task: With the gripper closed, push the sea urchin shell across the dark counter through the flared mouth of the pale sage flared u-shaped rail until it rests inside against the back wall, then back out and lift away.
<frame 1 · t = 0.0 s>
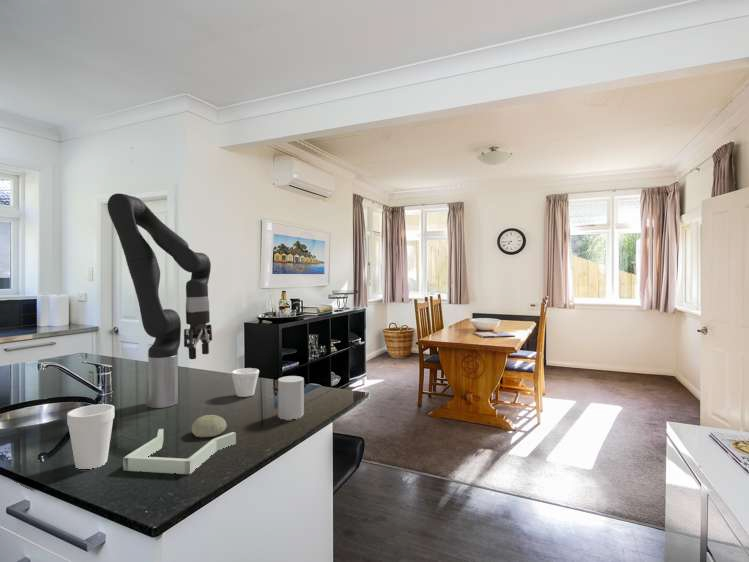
hand: (199, 356, 144), 17 cm above the worktop, tool pointing down, fingers open, 8 cm apart
flared u-shaped rail: (174, 458, 103), on the worktop
cup: (291, 416, 135), on the worktop
cup 2: (245, 395, 157), on the worktop
foam cup: (91, 464, 100), on the worktop
sea urchin shell: (208, 434, 120), on the worktop
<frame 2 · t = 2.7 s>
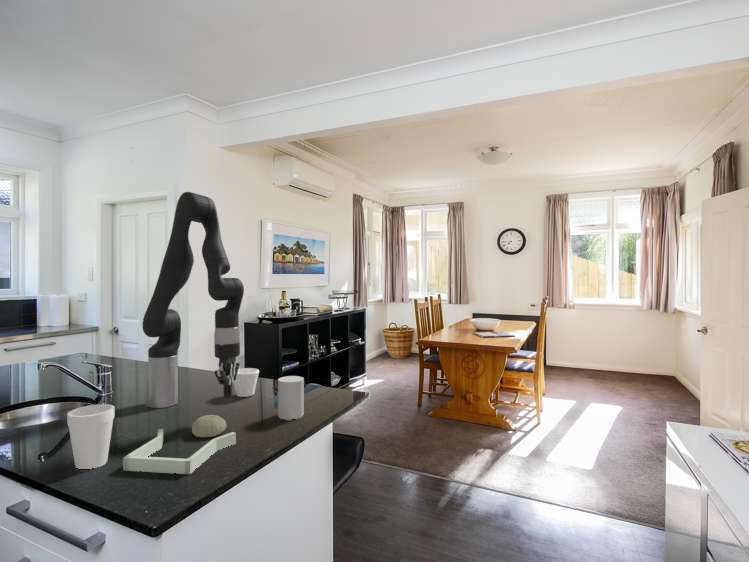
hand: (228, 396, 131), 7 cm above the worktop, tool pointing down, fingers closed
nothing on the worktop moved.
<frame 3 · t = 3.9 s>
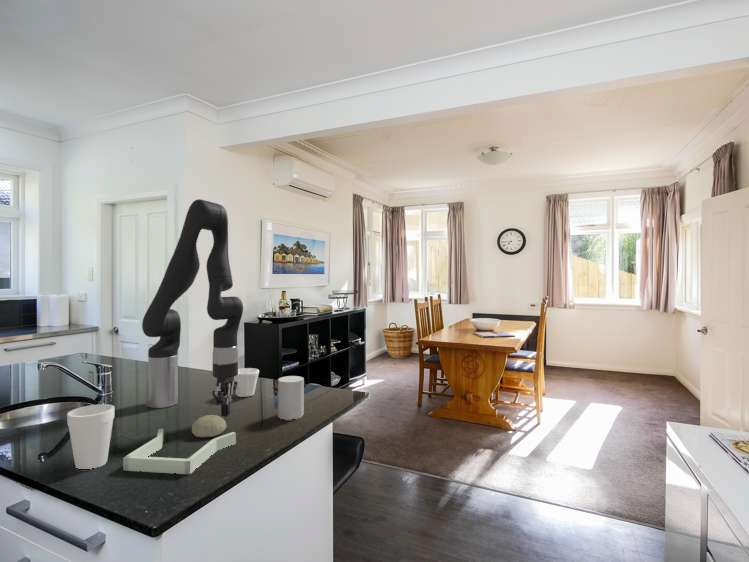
hand: (225, 415, 130), 2 cm above the worktop, tool pointing down, fingers closed
nothing on the worktop moved.
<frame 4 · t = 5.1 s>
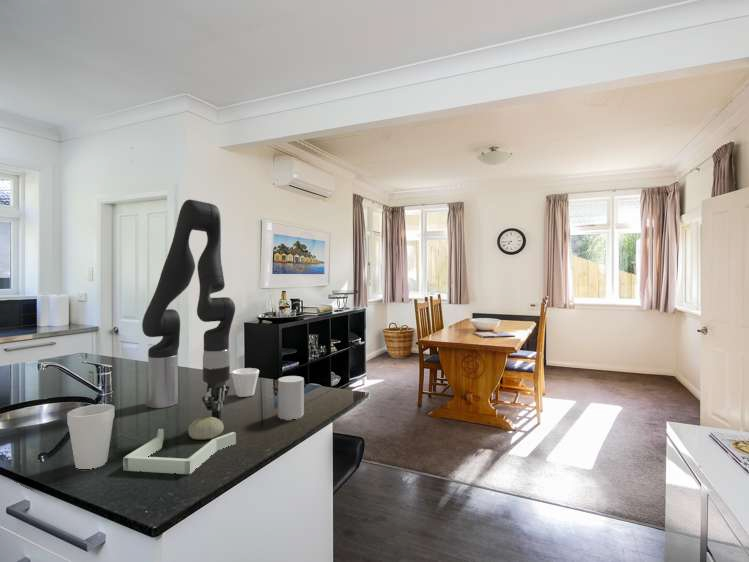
hand: (216, 422, 124), 2 cm above the worktop, tool pointing down, fingers closed
sea urchin shell: (205, 436, 118), on the worktop
everything else where it was.
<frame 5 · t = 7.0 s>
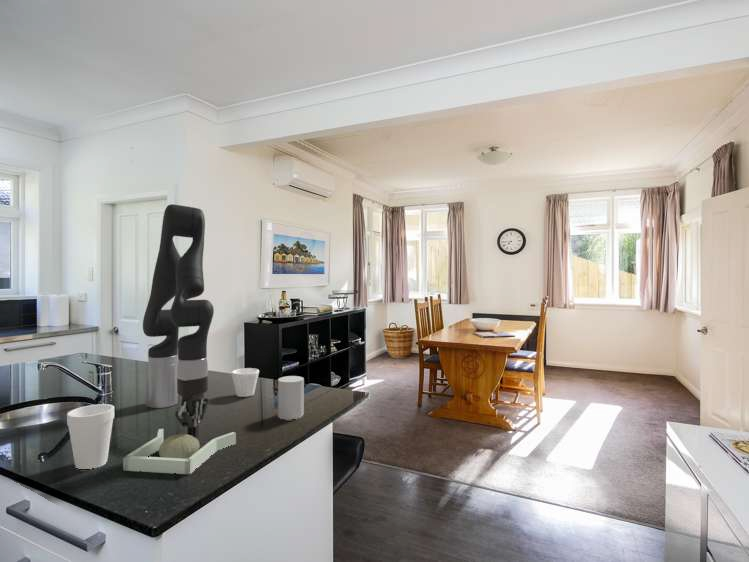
hand: (193, 439, 111), 2 cm above the worktop, tool pointing down, fingers closed
sea urchin shell: (179, 456, 105), on the worktop, touching gripper
everything else where it was.
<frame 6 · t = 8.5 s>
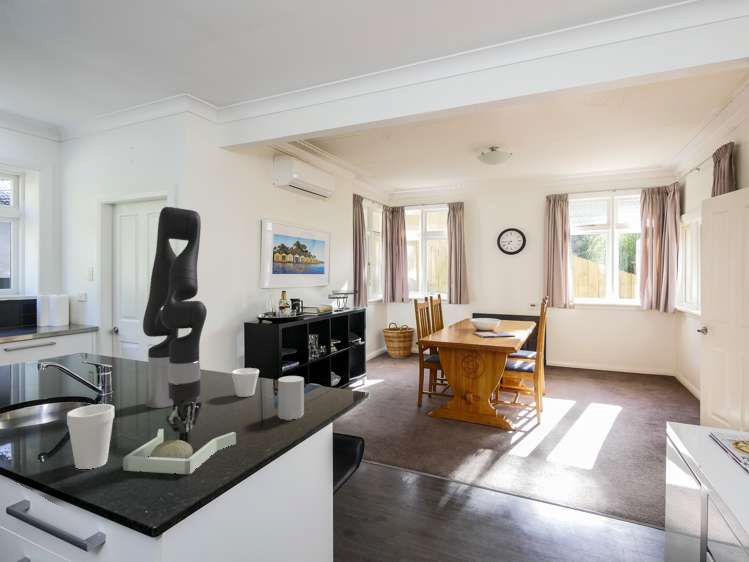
hand: (185, 445, 107), 2 cm above the worktop, tool pointing down, fingers closed
sea urchin shell: (171, 463, 101), on the worktop, touching flared u-shaped rail
everything else where it was.
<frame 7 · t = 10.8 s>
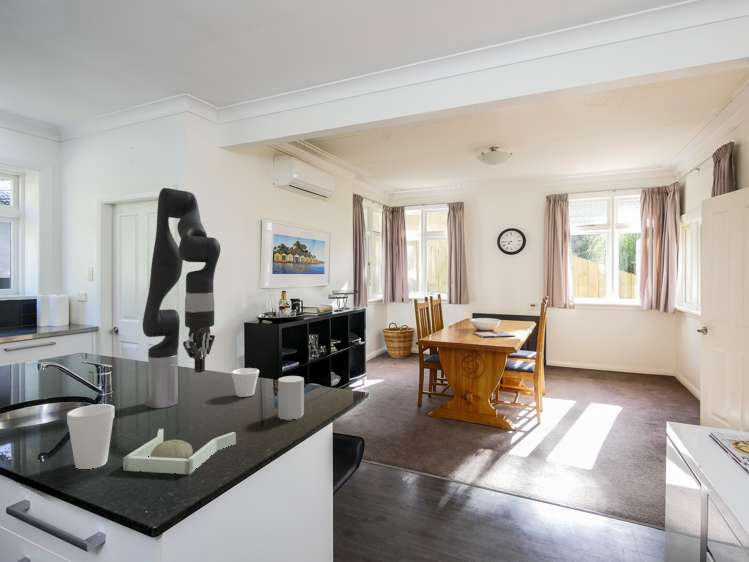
hand: (199, 371, 115), 19 cm above the worktop, tool pointing down, fingers closed
sea urchin shell: (171, 463, 101), on the worktop
everything else where it was.
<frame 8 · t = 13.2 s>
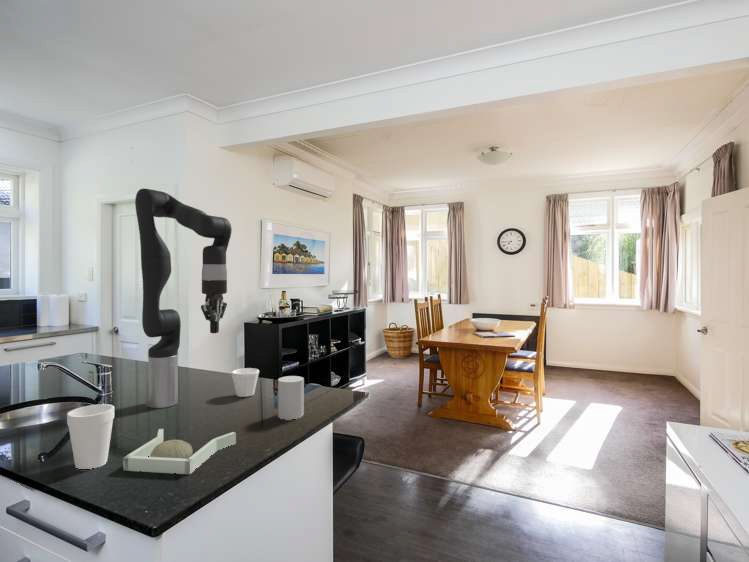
hand: (214, 332, 133), 27 cm above the worktop, tool pointing down, fingers closed
nothing on the worktop moved.
at the end: sea urchin shell inside the target area on the flared u-shaped rail (0.1 cm from its centre), point 0.0 cm above the flared u-shaped rail's base; sea urchin shell moved 18.5 cm from its start; the gripper is holding nothing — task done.
